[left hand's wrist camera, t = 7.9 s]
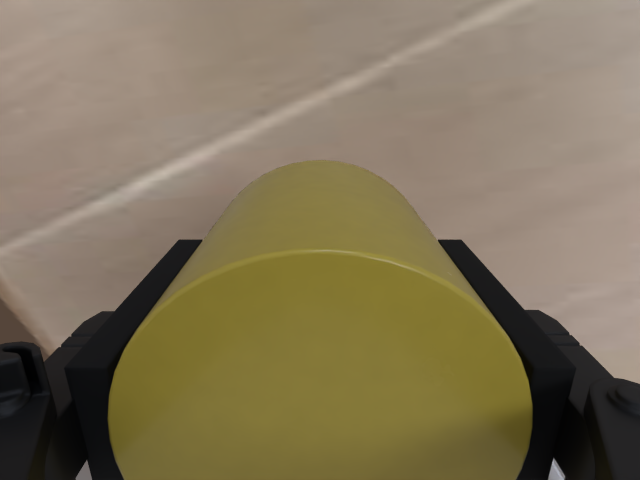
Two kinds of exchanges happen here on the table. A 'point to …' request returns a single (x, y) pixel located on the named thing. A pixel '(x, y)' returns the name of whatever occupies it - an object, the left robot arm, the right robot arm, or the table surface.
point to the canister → (320, 348)
